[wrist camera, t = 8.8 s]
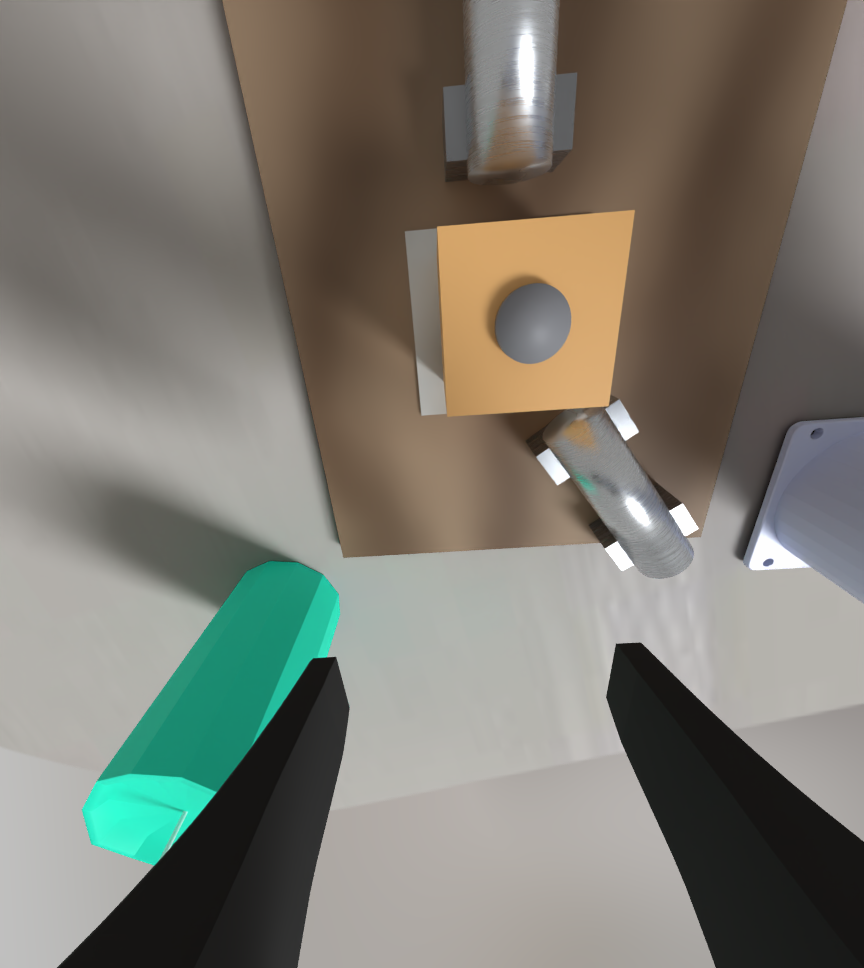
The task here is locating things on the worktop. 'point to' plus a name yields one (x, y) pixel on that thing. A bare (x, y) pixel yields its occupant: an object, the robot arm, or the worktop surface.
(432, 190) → the board
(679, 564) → the shaft
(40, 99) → the worktop surface
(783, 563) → the robot arm
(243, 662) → the candle
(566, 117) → the shaft
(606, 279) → the tan wooden block
